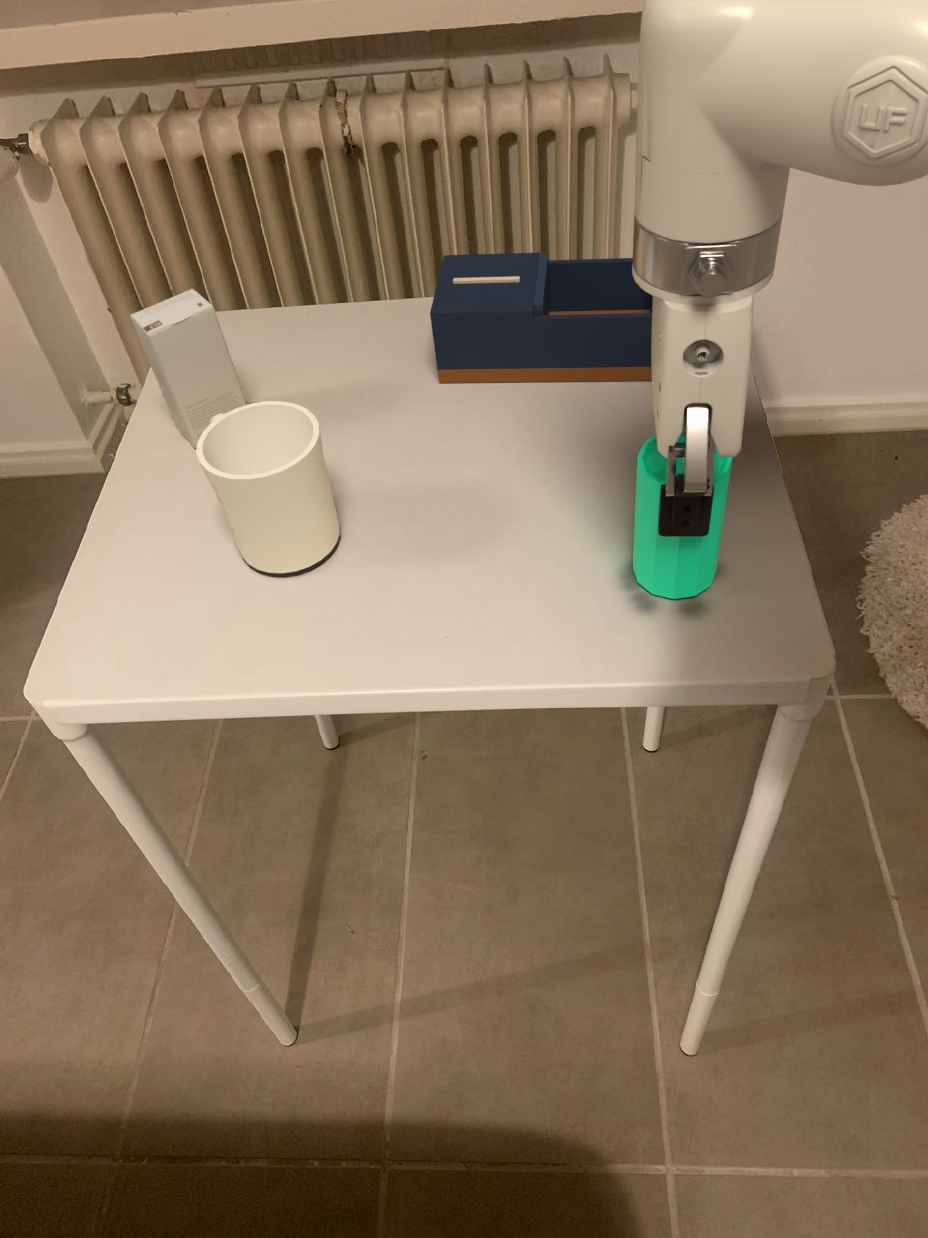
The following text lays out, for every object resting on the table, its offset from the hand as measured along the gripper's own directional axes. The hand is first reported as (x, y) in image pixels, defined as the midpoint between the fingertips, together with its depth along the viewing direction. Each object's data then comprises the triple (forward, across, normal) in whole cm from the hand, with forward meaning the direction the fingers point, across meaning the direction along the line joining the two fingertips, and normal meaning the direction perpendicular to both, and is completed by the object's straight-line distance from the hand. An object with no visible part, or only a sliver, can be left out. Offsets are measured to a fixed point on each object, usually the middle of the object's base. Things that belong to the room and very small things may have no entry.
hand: (680, 496), depth 63 cm
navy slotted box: (+7, +29, +11) cm, 31 cm away
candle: (+7, 0, 0) cm, 7 cm away
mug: (+7, +3, +31) cm, 32 cm away
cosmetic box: (+7, +17, +41) cm, 45 cm away
